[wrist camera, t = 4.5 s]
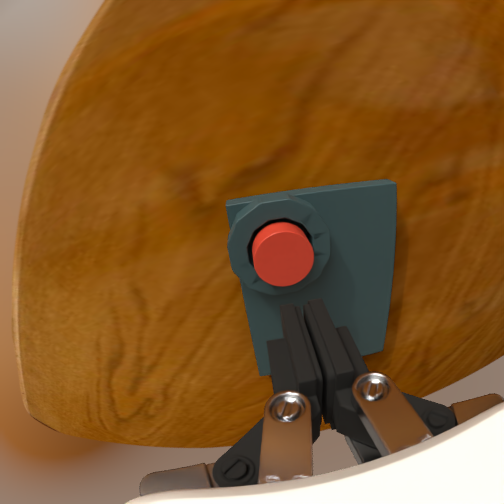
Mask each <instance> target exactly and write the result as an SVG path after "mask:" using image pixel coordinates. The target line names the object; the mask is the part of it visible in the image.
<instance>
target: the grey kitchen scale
mask: <svg viewBox="0 0 504 504" xmlns="http://www.w3.org/2000/svg"><path fill="white" fill-rule="evenodd" d="M396 204H397V192H396V183H395V182H393V181H391V180H388V179H384V180H373V181H363V182H354V183H345V184H336V185H328V186H320V187H312V188H304V189H297V190H290V191H283V192H276V193H269V194H262V195H256V196H250V197H244V198H237V199H231V200H227V201H226V210H227V215H228V220H229V226H230V232H229V235H228V244H227V248H228V252H229V257H230V262H231V267H232V270H233V272H234V273H235V274H236V275H237V276H238V277H239V278H240V282H241V287H242V292H243V297H244V302H245V307H246V312H247V317H248V322H249V327H250V332H251V336H252V341H253V346H254V351H255V356H256V360H257V365H258V370H259V374H260V376H265V375H271V370H270V363H269V357H268V350H267V343H266V341H268V340H274V339H280V338H283V330H282V322H281V313H280V305H286V304H291V303H293V304H294V306H300V309H301V312H302V315H303V305H306V304H307V302H308V300H313V299H318V298H322V300H323V302H324V304H325V306H326V309H327V311H328V313H329V315H330V317H331V319H332V322H333V324H334V326H335V328H337V327H342V326H346V327H347V328H348V330H349V332H350V334H351V336H352V338H353V340H354V342H355V344H356V346H357V348H358V350H359V352H360V354H361V356H365V355H369V354H372V353H376V352H380V351H383V346H384V340H385V334H386V328H387V321H388V314H389V307H390V299H391V290H392V280H393V269H394V256H395V239H396ZM275 222H289V223H292V224H294V225H296V226H298V227H299V228H300V229H301V230H302V231H303V232H304V234H305V235H306V237H307V239H308V240H309V242H310V244H311V246H312V248H313V251H314V262H313V266H312V268H311V270H310V272H309V273H308V274H307V276H306V277H305V278H304V279H302V280H301V281H299V282H298V283H296V284H293V285H290V286H274V285H271V284H268V283H267V282H265V281H264V280H262V279H261V278H260V277H259V276H258V274H257V272H256V270H255V268H254V262H253V254H252V245H253V241H254V239H255V237H256V235H257V234H258V232H259V231H260V230H261V229H263V228H264V227H265V226H267V225H269V224H272V223H275ZM303 318H304V315H303Z"/></svg>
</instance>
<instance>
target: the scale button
mask: <svg viewBox="0 0 504 504" xmlns="http://www.w3.org/2000/svg"><path fill="white" fill-rule="evenodd" d="M252 254H253V262H254V268H255V270H256V272H257V274H258V276H259V277H260V278H261V279H262V280H264V281H265V282H267V283H268V284H271V285H274V286H290V285H293V284H296V283H298V282H299V281H301V280H302V279H304V278H305V277H306V276H307V274H308V273H309V272H310V270H311V268H312V266H313V262H314V251H313V248H312V246H311V244H310V242H309V240H308V239H307V237H306V235H305V234H304V232H303V231H302V230H301V229H300V228H299V227H298V226H296V225H294V224H292V223H289V222H275V223H272V224H269V225H267V226H265V227H264V228H263V229H261V230H260V231H259V232H258V234H257V235H256V237H255V239H254V241H253V245H252Z"/></svg>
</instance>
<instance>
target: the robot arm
mask: <svg viewBox="0 0 504 504" xmlns="http://www.w3.org/2000/svg"><path fill="white" fill-rule="evenodd" d="M280 313H281V322H282V330H283V338H280V339H274V340H268V341H266V343H267V350H268V357H269V363H270V370H271V377H272V384H273V390H274V395H273V396H271V397H270V398H269V399H268V401H267V402H266V405H265V408H264V417H263V418H262V419H261V420H260V421H259V422H258V423H257V424H256V425H255V426H254V427H253V428H252V429H251V430H250V431H249V432H248V433H246V434H245V435H244V436H243V437H242V438H241V439H240V440H239V441H238V442H237V443H236V444H235V445H234V446H232V447H231V448H230V449H229V450H228V451H227V452H226V453H225V454H224V455H222V456H221V457H220V458H219V459H218V460H217V461H216V462H215V463H211V464H207V465H206V464H205V463H201V464H197V465H192V466H187V467H182V468H177V469H171V470H165V471H159V472H153V473H150V474H148V475H146V476H145V477H144V478H143V479H142V481H141V482H140V488H139V489H140V497H138V498H135V499H133V500H130V501H128V502H126V503H125V504H504V398H503V397H501V396H500V395H498V394H495V393H494V394H488V395H484V396H481V397H477V398H474V399H469V400H466V401H462V402H457V403H453V404H452V405H451V406H450V407H446V406H444V405H442V404H438V403H435V402H432V401H428V400H425V399H422V398H419V397H415V396H412V395H409V394H406V393H403V392H401V391H400V390H399V388H398V387H397V386H396V384H395V383H394V382H393V380H392V379H391V378H390V377H389V376H388V375H386V374H384V373H381V372H376V371H375V372H369V371H368V369H367V366H366V364H365V362H364V360H363V358H362V356H361V354H360V352H359V350H358V348H357V346H356V344H355V342H354V340H353V338H352V336H351V334H350V332H349V330H348V328H347V327H346V326H342V327H337V328H335V326H334V324H333V322H332V319H331V317H330V315H329V313H328V311H327V309H326V306H325V304H324V302H323V300H322V298H318V299H313V300H308V302H307V304H306V305H303V315H304V318H303V315H302V312H301V309H300V306H294V304H293V303H291V304H286V305H280ZM322 415H323V419H324V422H325V424H327V423H330V425H331V429H332V430H333V429H336V430H337V432H339V433H341V434H343V435H344V436H345V440H346V442H347V444H348V446H349V447H350V450H351V452H352V453H353V455H354V457H355V459H356V461H357V463H358V465H356V466H352V467H349V468H345V469H341V470H337V471H333V472H329V473H325V474H320V475H316V476H313V453H312V452H313V451H312V445H313V443H314V442H315V441H316V440H317V438H318V437H319V436H320V425H321V419H322Z"/></svg>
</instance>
